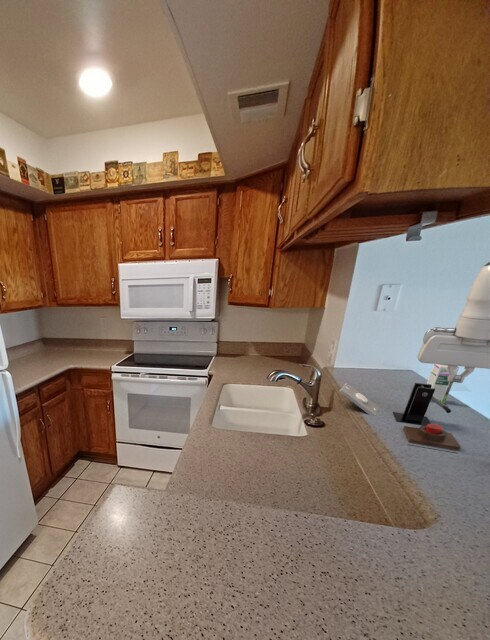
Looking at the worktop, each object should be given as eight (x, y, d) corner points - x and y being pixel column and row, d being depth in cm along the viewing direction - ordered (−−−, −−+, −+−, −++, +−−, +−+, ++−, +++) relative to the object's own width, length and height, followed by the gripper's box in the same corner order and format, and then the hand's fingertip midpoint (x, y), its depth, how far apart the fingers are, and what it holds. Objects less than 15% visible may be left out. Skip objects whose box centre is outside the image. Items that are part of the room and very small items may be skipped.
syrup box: (425, 403, 124) (441, 366, 117) (420, 397, 129) (434, 361, 122) (443, 405, 122) (460, 367, 115) (437, 399, 127) (453, 362, 120)
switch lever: (442, 409, 107) (449, 404, 105) (446, 415, 103) (454, 409, 101) (414, 388, 108) (420, 383, 106) (417, 394, 104) (424, 388, 102)
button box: (448, 439, 100) (453, 427, 98) (457, 453, 92) (463, 441, 90) (401, 432, 104) (406, 420, 102) (407, 445, 97) (412, 433, 95)
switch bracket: (425, 419, 111) (440, 384, 105) (431, 429, 105) (447, 392, 99) (391, 414, 115) (404, 380, 109) (395, 424, 109) (408, 387, 102)
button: (438, 430, 97) (440, 424, 96) (441, 435, 94) (444, 430, 93) (423, 427, 98) (426, 422, 98) (426, 433, 96) (429, 427, 95)
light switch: (378, 414, 111) (343, 387, 115) (364, 425, 115) (330, 399, 119) (382, 406, 117) (348, 380, 121) (369, 417, 121) (336, 392, 125)
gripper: (430, 328, 84) (411, 380, 90) (536, 335, 76) (507, 390, 83) (424, 324, 89) (407, 373, 95) (523, 330, 81) (496, 383, 88)
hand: (454, 381), depth 89 cm, fingers closed
